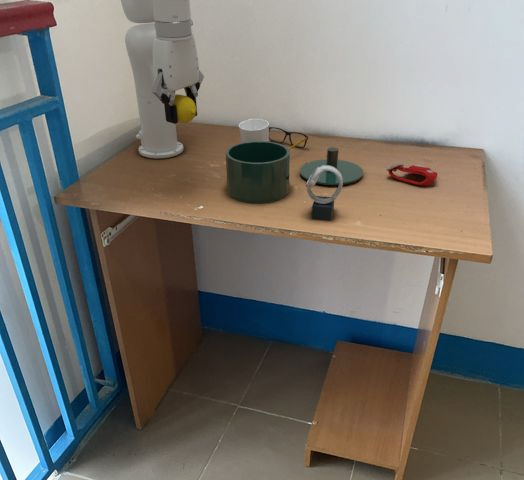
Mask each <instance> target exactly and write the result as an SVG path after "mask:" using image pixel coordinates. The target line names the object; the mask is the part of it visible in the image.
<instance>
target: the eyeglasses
mask: <svg viewBox="0 0 524 480" xmlns="http://www.w3.org/2000/svg"><path fill="white" fill-rule="evenodd" d="M271 129H272V130H273V129H274V130H279V131H282V132H283V133H284V137H283V140H282V141H277V140H273V139H271V136H270V135H269V141H270V142H274V143H278V144H283V143H284V142H285V141H286V139H287V136H288V140H289V142H290V145H291V146H290V147H287V148H288V149H289V150H291V149H293V148H299V149H303V148H305V147H306V145H307V143H308V139H309V136H308V135H307V134H305V133H302V132H298V131H287V130H284V129H282V128H281V127H280V128H279V127H273V126H269V133H270V131H271ZM293 134H296V135H297V134H298V135H302V136H304V138H302V139H301V140H299V141H297V142H296V143H294V144H293V141H292V137H291V135H293ZM302 143H304V144H303V146H298V145H300V144H302Z"/></svg>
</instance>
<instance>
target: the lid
mask: <svg viewBox="0 0 524 480" xmlns="http://www.w3.org/2000/svg"><path fill="white" fill-rule="evenodd" d="M322 165H329V166H333V167H335V168H336V169H337V170H338V171H339V172H340V173H341V175H342V178H343V183H342V184H343V185H348V184H352V183H356V182H357V181H359V180H361V179H362V177H363V175H364V170H363V168H362V167H361V166H360V165H358V164H356V163H354V162H351V161H347V160H341V159H339V148H337V147H333V146H332V147H328V148H327V150H326V159H325V158H324V159H317V160H312V161H309V162H305V164H303V165H301V167H300V168H299V174H300V176H301V177H302V178H303V179H304V180H307V181H308V180H309V178H310V176H311V175H312V173H313V172H314V170H315V169H316V168H317V167H321V166H322ZM339 183H340V180H339V178H338V176H337V175H336V174H334V172H330V171H326V170H325V171H323V172H322V174H321V176H320V178H319V179H318V181H317V182H316V184H319V185H326V186H339Z"/></svg>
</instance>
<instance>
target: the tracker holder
mask: <svg viewBox="0 0 524 480" xmlns="http://www.w3.org/2000/svg"><path fill="white" fill-rule="evenodd" d="M404 166H405V164H403V163H397V164H392V165H390V166H388V167H387V168H385V170H386V171H387V172H388V175H389V176H390V177H392V178H394V179H396V180H398V181H401V182H405V183H409V184H413V185H415V186H416V185H417V186H424V187H425V186H430V185H431V184H433V183H434V182H435V181H436V179H437V178H438V172H436V171H433V170H432V169H431V168H430V167H427V166H425V165H420V164H419V165H416V164H415V165H409V166H408V167H404ZM397 171H400V172H403V173H408V174H412V175H413V174H415V175H419V176H423V177H424V178H425V179H424V180H423V181H421V182H420V181H416V180H412V179H408V178H404V177H402V176H401V177H400V176H398V175H396V174H394V173H395V172H397Z"/></svg>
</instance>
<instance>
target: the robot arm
mask: <svg viewBox="0 0 524 480" xmlns="http://www.w3.org/2000/svg"><path fill="white" fill-rule="evenodd" d="M190 1H191V0H120V2H121V7H122V11H123V13H124V15H125V17H126V19H127V20H128V21H129V22H131V23H133V24H134V23H135V24H136V25H133V26H131V27H130V28H129V29H128V30H127V31H126V33H125V36H124V44H125V48H126V52H127V56H128V59H129V63H130V67H131V70H132V75H133V83H134V87H135V94H136V102H137V108H138V116H139V122H140V129H139V131H138V133H137V134H136V135H135V139H136V140H139V141H140V143H141V145H139V147H138V153H139V155H140V156H142V157H145V158H148V159H169V158H172V157H176V156H178V155H180V154H182V153H183V152H184V150H185V148H184V144H183V143H182V142H180V141H179V140H178V135H177V127H176V124H178V118H177V108H176V105H174V99H175V95H176V91H179V90H182V89H183V90H184V93H185V96H187V97H189V98H191V99H192V100H193V101H194V103H195V105H196V115H195V117H198V107H197V98H198V96H199V90H200V88H201V84H202V83H203V80H204V78H205V76H204V74H203V73H202V71H201V70H200V65H199V57H198V56H199V55H198V51H197V44H196V41H195V40H196V39H195V36H194V32H193V31H194V30H193V25H194V22H193V20H192V14H191V13H192V12H191V2H190Z"/></svg>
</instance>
